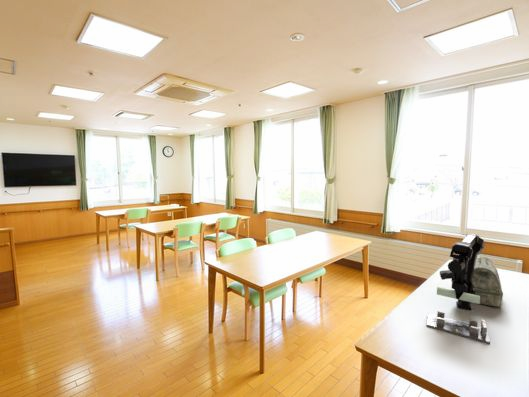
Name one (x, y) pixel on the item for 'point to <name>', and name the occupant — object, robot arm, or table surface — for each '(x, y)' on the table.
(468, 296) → the tube
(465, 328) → the saddle plate
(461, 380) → the table surface
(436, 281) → the table surface
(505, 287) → the table surface
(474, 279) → the lunch bag
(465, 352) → the table surface
